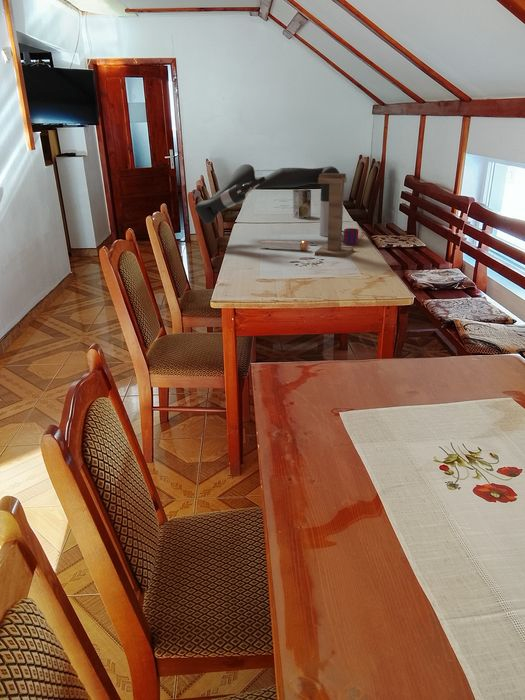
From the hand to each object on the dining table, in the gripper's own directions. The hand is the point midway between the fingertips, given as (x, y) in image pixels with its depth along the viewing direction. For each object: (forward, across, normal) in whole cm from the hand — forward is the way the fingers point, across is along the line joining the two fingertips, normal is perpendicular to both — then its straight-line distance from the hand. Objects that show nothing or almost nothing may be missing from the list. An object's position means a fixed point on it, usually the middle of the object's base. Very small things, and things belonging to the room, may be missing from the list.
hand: (261, 179), depth 238 cm
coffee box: (-22, +86, +26) cm, 92 cm away
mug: (+17, +19, +44) cm, 51 cm away
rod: (-5, -1, +32) cm, 33 cm away
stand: (+16, -1, +43) cm, 46 cm away
